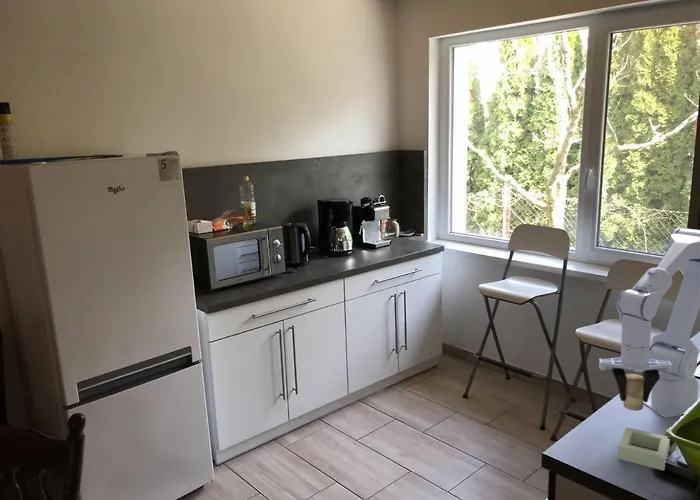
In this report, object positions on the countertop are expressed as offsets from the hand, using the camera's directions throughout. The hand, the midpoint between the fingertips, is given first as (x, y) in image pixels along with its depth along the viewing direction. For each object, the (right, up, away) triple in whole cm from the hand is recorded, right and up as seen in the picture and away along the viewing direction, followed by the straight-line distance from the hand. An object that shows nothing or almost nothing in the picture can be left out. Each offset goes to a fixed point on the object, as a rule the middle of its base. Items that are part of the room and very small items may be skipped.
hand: (633, 399), depth 129 cm
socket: (-2, -9, -9) cm, 13 cm away
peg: (0, -2, 0) cm, 2 cm away
